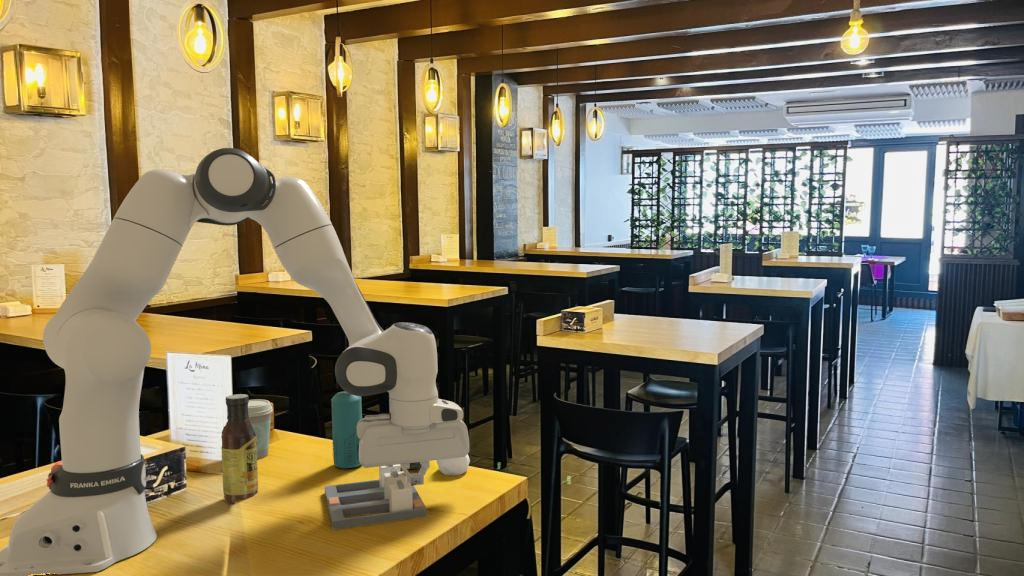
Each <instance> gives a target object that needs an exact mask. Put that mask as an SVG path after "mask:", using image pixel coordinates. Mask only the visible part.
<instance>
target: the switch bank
mask: <svg viewBox="0 0 1024 576" xmlns="http://www.w3.org/2000/svg"><path fill="white" fill-rule="evenodd" d="M406 483H407V480H406ZM411 487H412V502H413V509H410V510H403V511H396V512H390V509H389V499H385V497H384V487H383V488H380V481H379V479H371V480H364V481H355V482H349V483H348V482H347V483H340V484H331V485H324V498H325V500H326V505H327V510H328V514H329V520H330V523H331V529H332V530H333V531H334V530H342V529H347V528H355V527H362V526H368V525H370V526H371V525H376V524H383V523H389V522H397V521H398V522H399V521H405V520H411V519H419V518H425V517H428V514H427V513H428V511H427V507H426V505H425V503H424V501H423V500H422V498H421V495H420V494H419V492H418V490H417V489H416V486H415V485H414V486H411Z"/></svg>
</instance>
